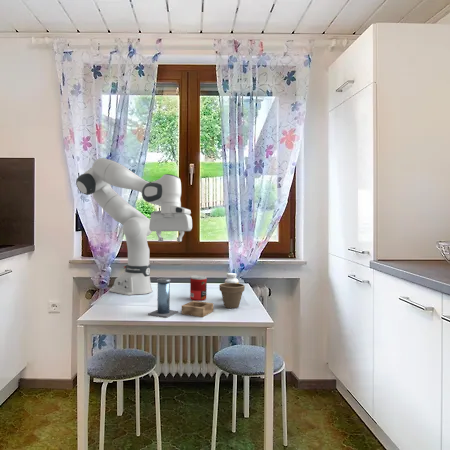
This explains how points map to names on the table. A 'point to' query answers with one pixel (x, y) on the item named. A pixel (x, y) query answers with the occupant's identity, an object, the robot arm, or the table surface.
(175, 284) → the table surface
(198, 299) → the canned food
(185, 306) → the bore block
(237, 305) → the flower pot
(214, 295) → the table surface
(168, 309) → the plunger
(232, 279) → the supplement bottle
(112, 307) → the table surface
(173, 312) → the mat
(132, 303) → the table surface
